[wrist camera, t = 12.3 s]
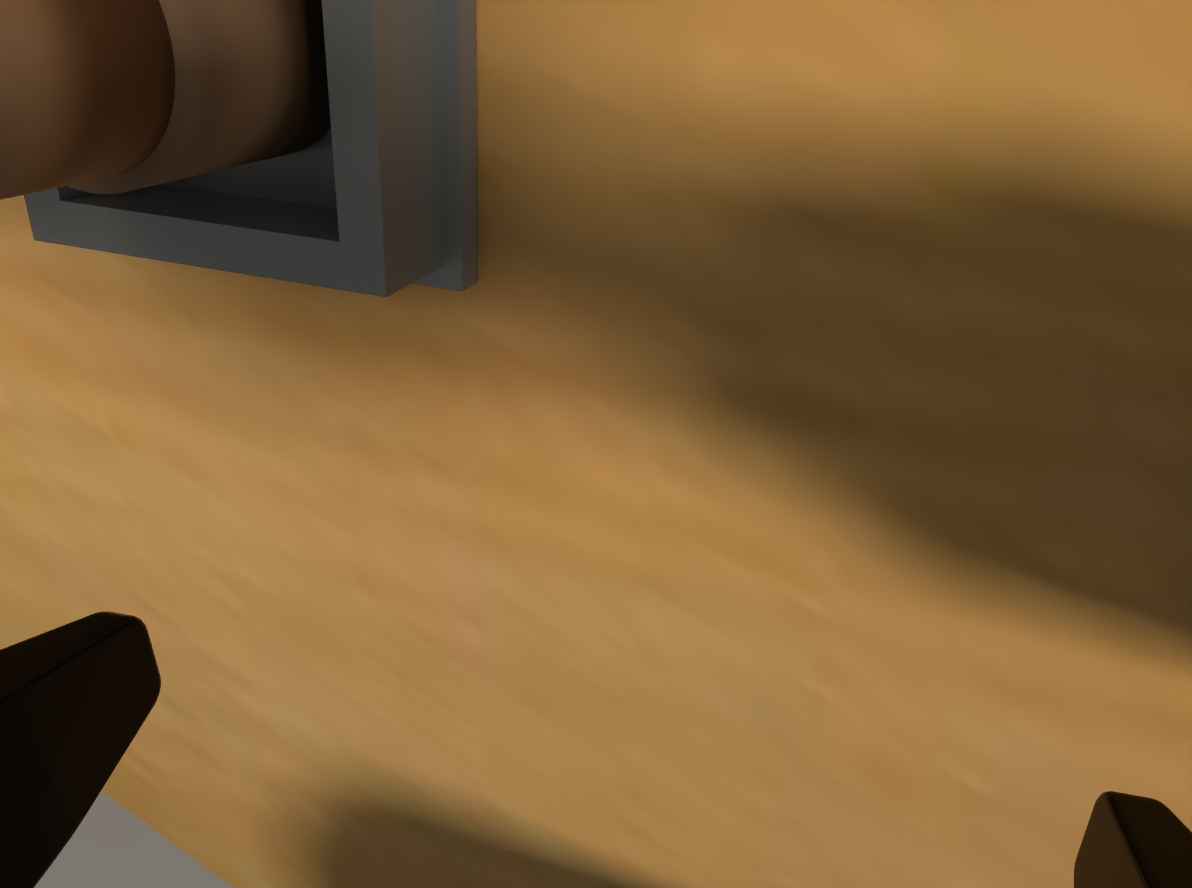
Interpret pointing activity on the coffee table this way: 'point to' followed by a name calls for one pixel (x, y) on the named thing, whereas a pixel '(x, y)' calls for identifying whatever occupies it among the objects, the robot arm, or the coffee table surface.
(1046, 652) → the coffee table surface
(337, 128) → the slate open box
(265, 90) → the pepper mill
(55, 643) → the robot arm
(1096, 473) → the coffee table surface
